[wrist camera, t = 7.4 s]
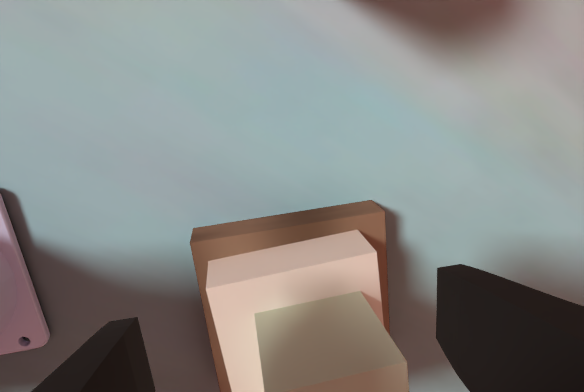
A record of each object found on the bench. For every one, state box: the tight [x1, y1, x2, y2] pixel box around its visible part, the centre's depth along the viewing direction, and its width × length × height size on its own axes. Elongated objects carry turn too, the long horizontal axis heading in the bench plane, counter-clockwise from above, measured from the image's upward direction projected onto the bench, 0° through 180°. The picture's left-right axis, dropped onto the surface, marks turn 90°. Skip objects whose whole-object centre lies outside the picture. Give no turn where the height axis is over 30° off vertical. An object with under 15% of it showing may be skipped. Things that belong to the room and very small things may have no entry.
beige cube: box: [254, 291, 409, 392], centre depth 15 cm, size 4×4×4 cm
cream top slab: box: [206, 230, 384, 392], centre depth 18 cm, size 7×7×2 cm
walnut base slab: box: [190, 200, 390, 392], centre depth 21 cm, size 9×9×2 cm
